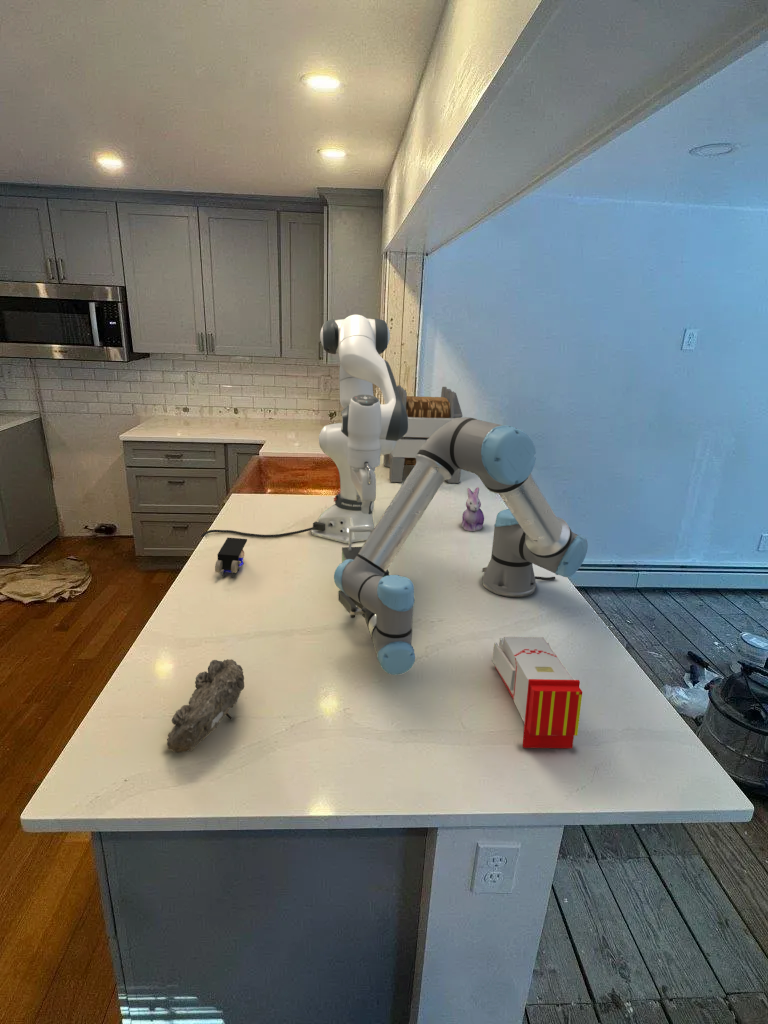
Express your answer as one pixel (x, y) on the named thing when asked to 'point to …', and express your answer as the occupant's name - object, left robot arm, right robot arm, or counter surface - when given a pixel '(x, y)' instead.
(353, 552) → the lid
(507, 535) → the right robot arm
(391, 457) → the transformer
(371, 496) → the left robot arm
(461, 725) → the counter surface
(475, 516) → the figurine
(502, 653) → the toy
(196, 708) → the fossil
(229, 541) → the black toy car
